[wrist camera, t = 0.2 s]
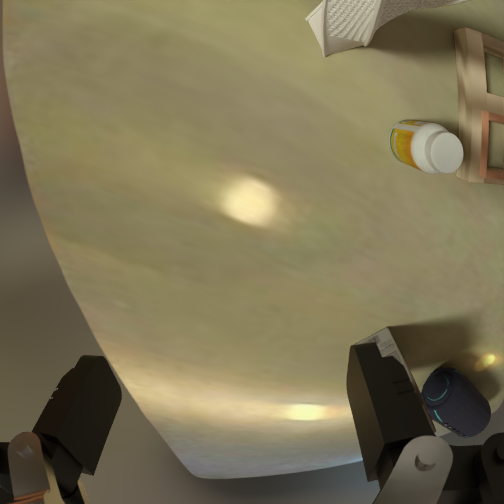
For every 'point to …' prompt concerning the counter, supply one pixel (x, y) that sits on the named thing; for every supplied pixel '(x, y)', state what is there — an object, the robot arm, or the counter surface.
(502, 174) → the cup caddy
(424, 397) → the portable speaker
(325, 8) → the skyscraper
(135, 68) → the counter surface
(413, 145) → the supplement bottle
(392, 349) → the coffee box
